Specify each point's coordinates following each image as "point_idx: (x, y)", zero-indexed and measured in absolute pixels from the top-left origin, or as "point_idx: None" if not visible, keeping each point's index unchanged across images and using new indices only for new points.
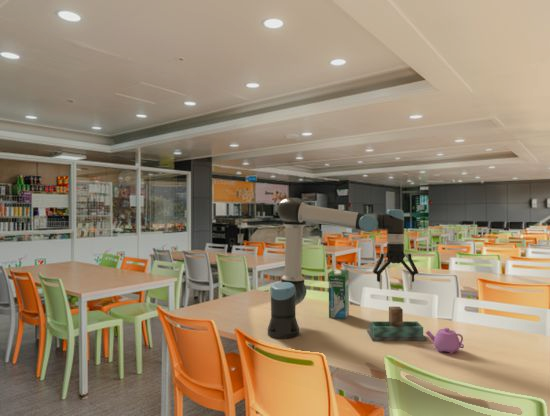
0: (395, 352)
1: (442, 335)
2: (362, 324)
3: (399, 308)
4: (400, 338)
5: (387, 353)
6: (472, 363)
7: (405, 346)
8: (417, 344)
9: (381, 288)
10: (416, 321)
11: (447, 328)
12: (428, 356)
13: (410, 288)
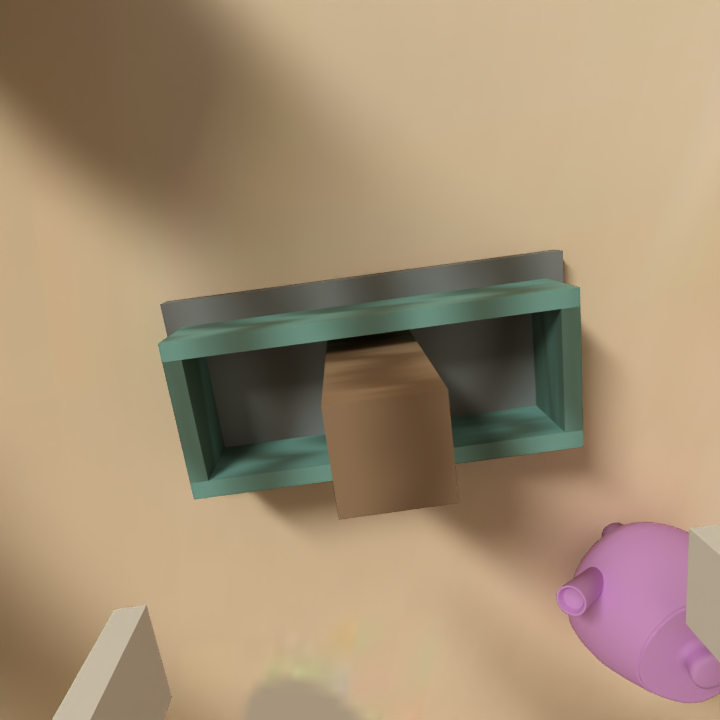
0: (333, 637)
1: (642, 687)
2: (116, 72)
3: (431, 470)
4: None
5: (287, 656)
6: (681, 709)
7: (404, 542)
8: (485, 499)
9: (157, 712)
10: (575, 289)
11: (716, 677)
12: (498, 662)
13: (701, 638)
